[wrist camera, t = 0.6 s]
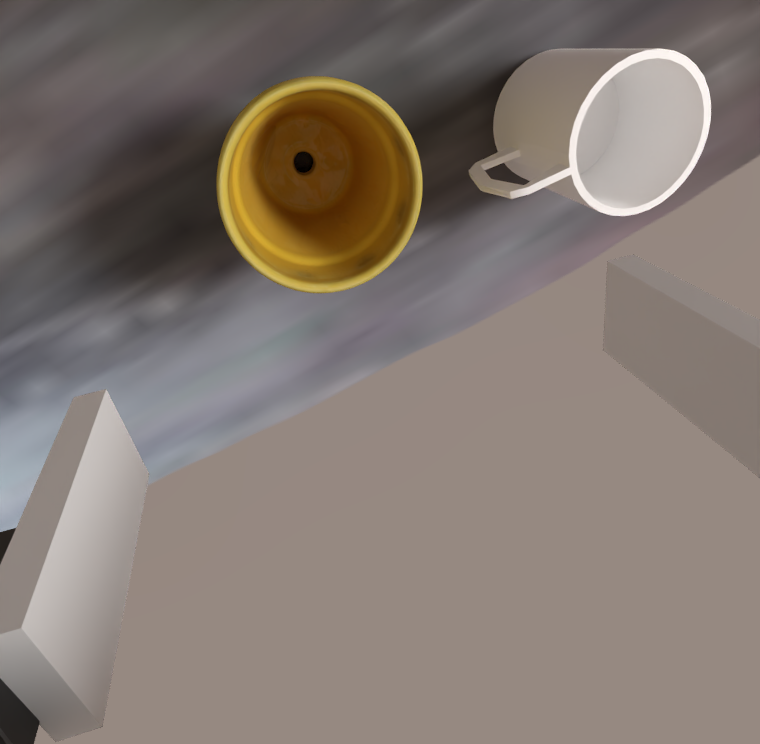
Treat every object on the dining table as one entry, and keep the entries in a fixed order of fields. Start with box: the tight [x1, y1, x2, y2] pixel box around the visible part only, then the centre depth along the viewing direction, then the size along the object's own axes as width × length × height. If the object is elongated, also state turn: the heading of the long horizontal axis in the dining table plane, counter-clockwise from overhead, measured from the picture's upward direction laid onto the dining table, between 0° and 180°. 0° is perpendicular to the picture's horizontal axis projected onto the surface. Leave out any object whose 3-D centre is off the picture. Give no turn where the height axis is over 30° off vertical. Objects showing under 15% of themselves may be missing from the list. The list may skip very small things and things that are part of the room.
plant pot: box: [217, 76, 422, 293], centre depth 32 cm, size 10×10×10 cm
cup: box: [469, 49, 711, 216], centre depth 34 cm, size 8×12×10 cm
